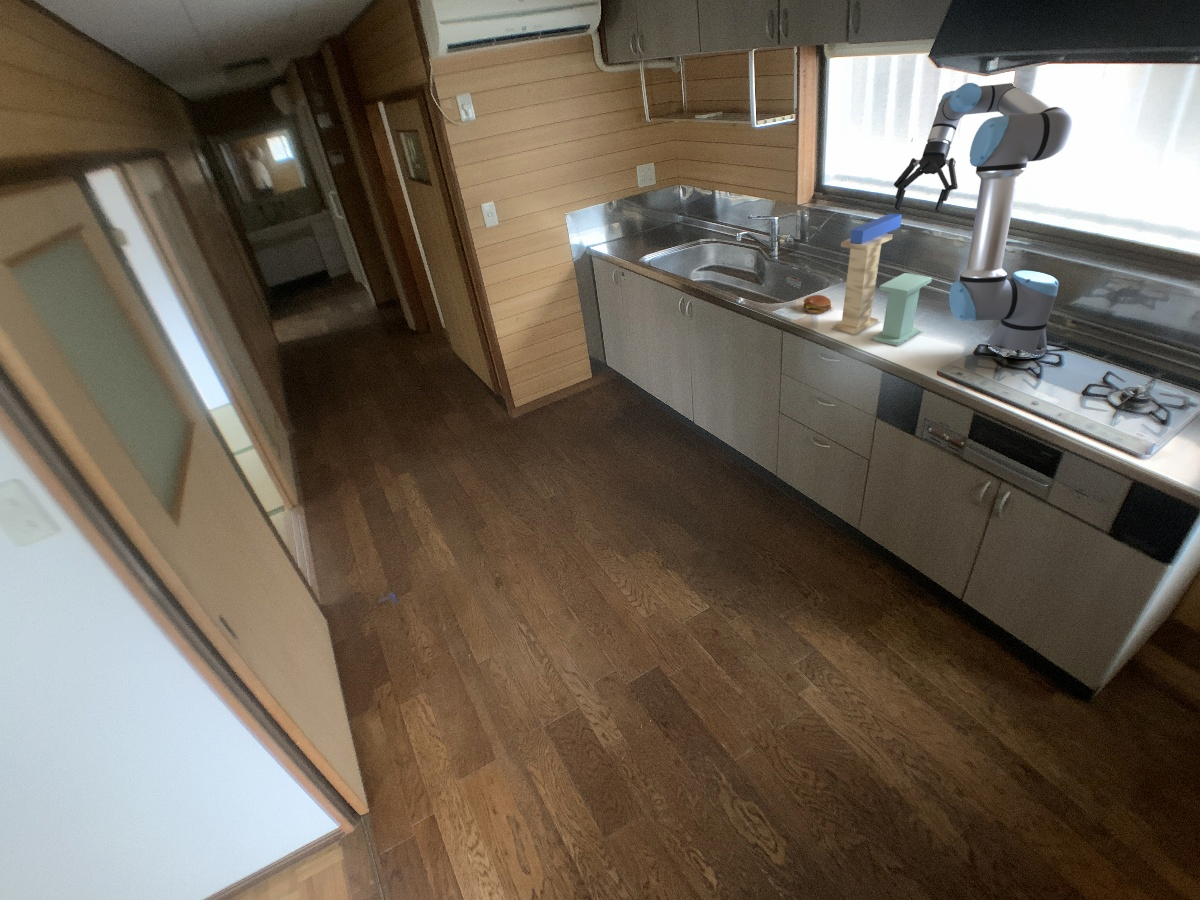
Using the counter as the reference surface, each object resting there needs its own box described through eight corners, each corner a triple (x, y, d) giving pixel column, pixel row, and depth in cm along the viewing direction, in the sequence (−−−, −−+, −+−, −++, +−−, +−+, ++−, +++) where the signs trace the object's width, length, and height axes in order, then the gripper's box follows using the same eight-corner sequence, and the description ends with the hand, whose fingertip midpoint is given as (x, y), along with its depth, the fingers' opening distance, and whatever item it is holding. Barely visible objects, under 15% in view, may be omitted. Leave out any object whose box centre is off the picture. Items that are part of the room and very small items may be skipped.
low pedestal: (895, 325, 209) (904, 272, 199) (921, 332, 203) (932, 277, 193) (871, 340, 202) (879, 285, 192) (897, 346, 196) (907, 291, 186)
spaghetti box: (888, 225, 206) (890, 213, 204) (900, 227, 203) (902, 214, 201) (849, 242, 195) (851, 229, 193) (861, 244, 192) (863, 231, 190)
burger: (832, 306, 230) (834, 294, 227) (827, 315, 223) (828, 302, 221) (806, 304, 234) (807, 292, 232) (799, 312, 228) (800, 300, 225)
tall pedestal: (855, 316, 220) (867, 231, 203) (879, 321, 214) (892, 234, 197) (831, 329, 212) (841, 242, 196) (854, 335, 206) (866, 246, 190)
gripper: (982, 147, 197) (958, 214, 202) (905, 149, 214) (884, 211, 218) (976, 138, 192) (952, 208, 196) (897, 140, 209) (876, 204, 213)
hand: (916, 209), depth 207 cm, fingers open, 13 cm apart
